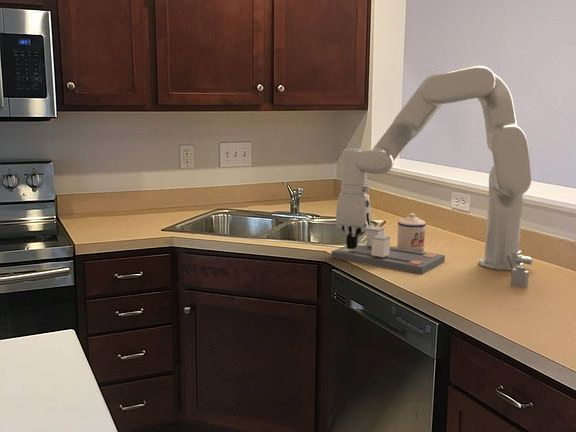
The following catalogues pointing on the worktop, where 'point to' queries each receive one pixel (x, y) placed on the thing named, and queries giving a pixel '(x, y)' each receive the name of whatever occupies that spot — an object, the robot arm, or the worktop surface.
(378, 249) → the beige slider knob
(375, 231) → the on switch
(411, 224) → the teacup with lid
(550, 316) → the worktop surface
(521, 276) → the lighter
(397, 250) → the panel
